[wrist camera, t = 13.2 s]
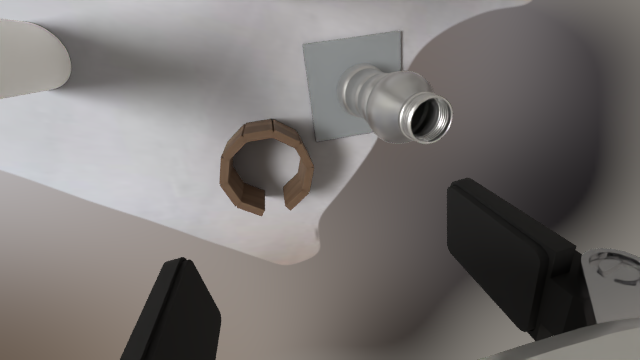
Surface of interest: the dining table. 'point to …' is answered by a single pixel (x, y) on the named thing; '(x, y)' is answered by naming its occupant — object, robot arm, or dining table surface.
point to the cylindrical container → (30, 59)
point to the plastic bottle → (395, 104)
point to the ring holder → (255, 197)
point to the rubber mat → (328, 67)
